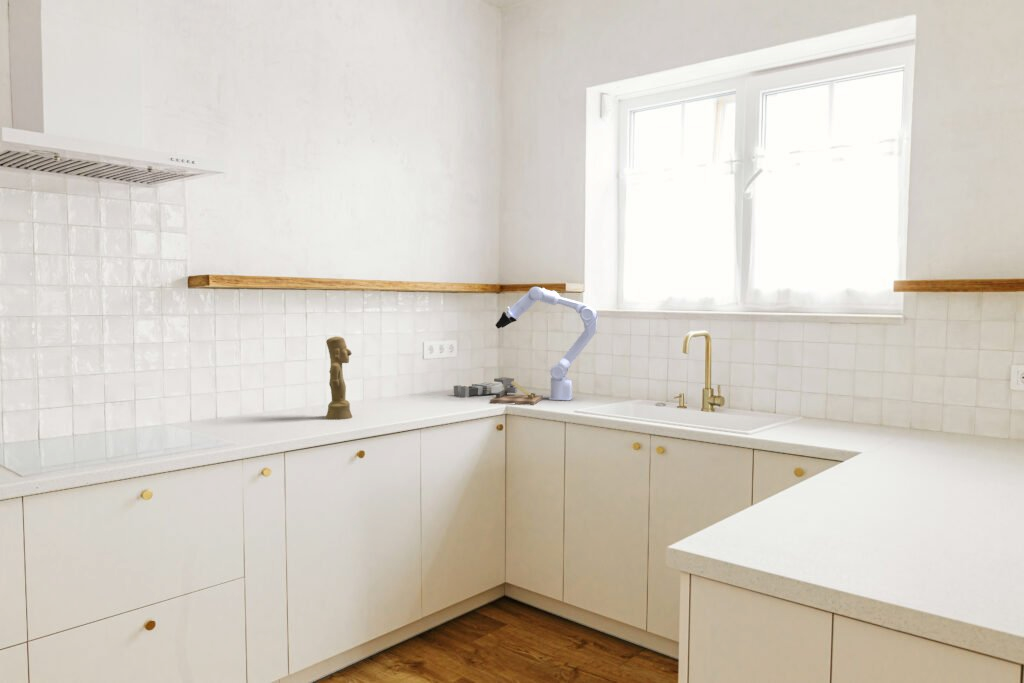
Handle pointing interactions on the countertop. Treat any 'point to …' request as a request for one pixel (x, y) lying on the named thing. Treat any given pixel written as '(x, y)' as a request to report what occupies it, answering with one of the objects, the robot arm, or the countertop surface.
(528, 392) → the yellow rectangular block
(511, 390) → the knobbed plate
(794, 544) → the countertop surface
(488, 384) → the toy figure
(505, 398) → the brown wooden board
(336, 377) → the statue
